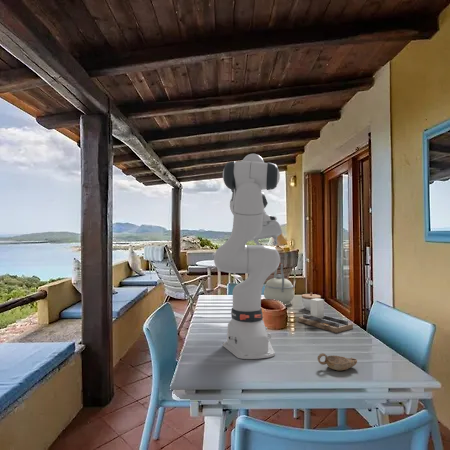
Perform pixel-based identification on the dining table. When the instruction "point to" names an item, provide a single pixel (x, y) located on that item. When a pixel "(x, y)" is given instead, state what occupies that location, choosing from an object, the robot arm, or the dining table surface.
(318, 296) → the lidded jar
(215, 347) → the dining table surface
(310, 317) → the switch housing
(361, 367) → the dining table surface
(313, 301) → the switch knob
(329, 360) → the oil lamp
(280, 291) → the kettle
